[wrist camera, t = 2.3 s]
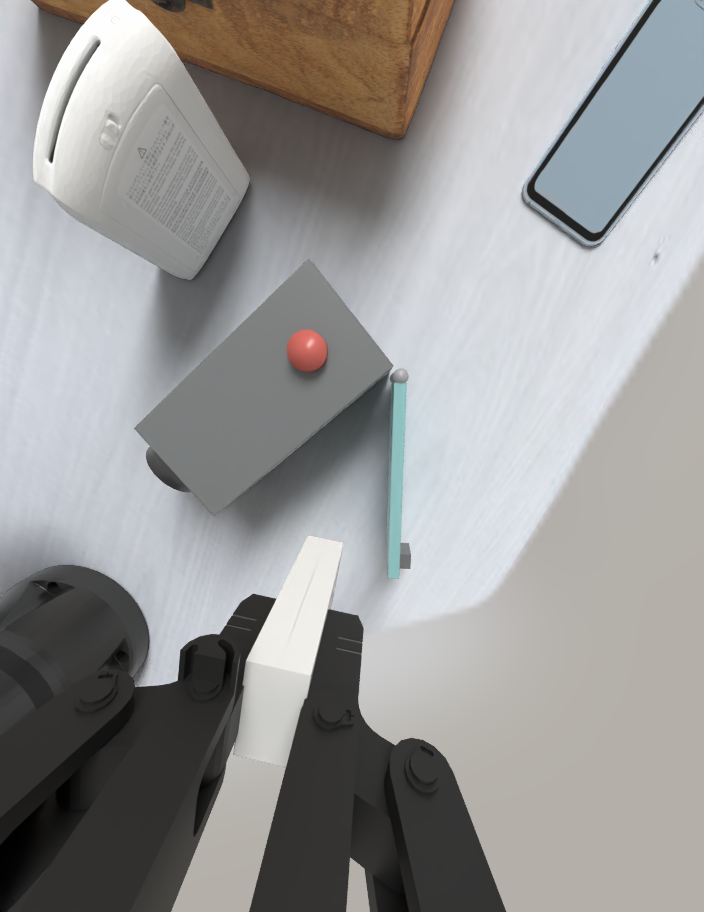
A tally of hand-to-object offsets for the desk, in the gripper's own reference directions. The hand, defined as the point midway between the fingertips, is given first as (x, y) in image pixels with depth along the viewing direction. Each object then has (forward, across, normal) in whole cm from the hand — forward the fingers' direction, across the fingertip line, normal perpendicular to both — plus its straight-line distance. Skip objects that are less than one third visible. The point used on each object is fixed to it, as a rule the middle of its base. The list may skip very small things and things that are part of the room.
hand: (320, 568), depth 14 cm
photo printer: (+17, -16, +18) cm, 30 cm away
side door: (+16, +4, +2) cm, 16 cm away
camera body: (+17, -8, +5) cm, 19 cm away
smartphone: (+18, +14, +29) cm, 37 cm away
